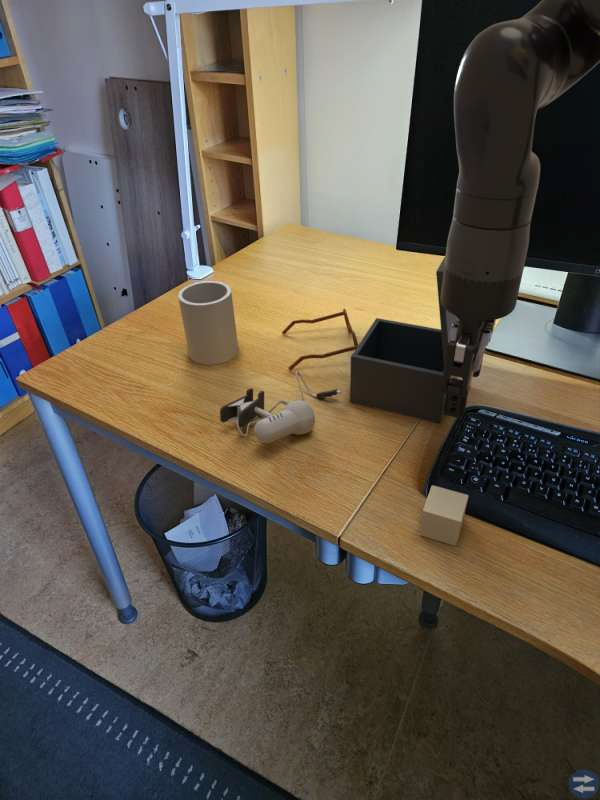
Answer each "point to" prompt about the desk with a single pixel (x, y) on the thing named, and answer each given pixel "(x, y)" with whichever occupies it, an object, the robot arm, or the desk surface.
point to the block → (443, 515)
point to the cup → (209, 322)
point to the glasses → (329, 352)
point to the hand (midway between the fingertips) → (462, 393)
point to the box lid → (444, 313)
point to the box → (399, 370)
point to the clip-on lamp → (273, 427)
